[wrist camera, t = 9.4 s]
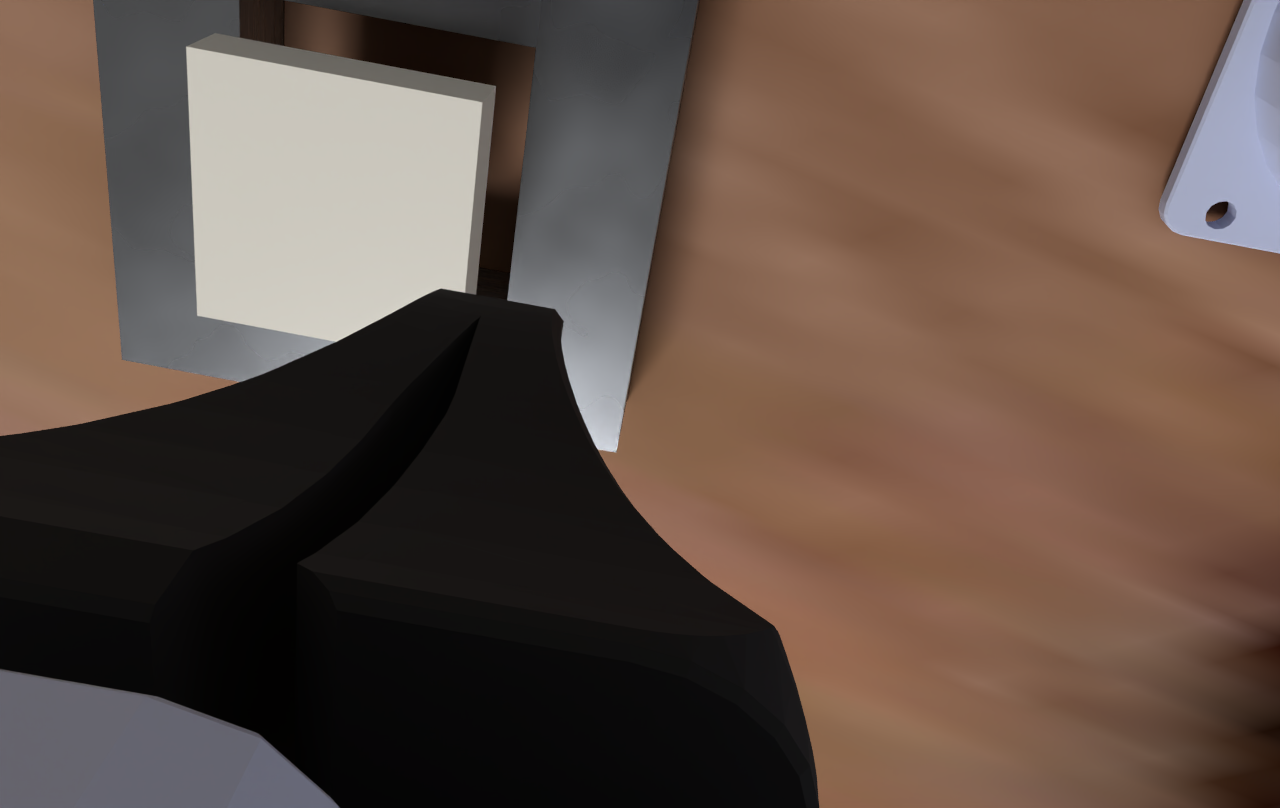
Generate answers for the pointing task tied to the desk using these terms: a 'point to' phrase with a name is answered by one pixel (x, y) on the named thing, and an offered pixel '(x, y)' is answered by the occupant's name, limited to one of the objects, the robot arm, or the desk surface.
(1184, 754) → the desk surface
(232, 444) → the robot arm
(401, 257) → the off-white block
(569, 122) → the panel
